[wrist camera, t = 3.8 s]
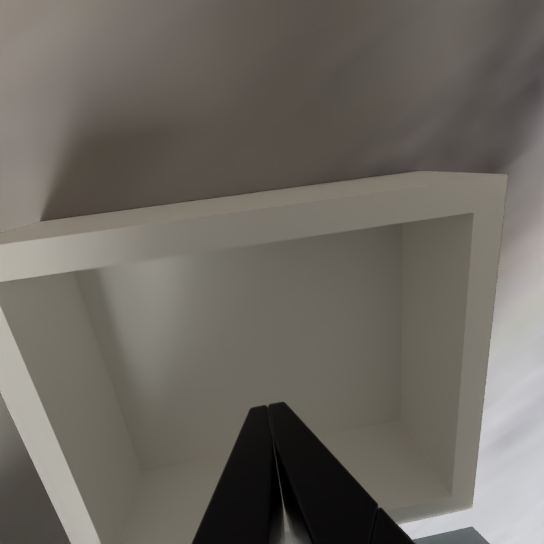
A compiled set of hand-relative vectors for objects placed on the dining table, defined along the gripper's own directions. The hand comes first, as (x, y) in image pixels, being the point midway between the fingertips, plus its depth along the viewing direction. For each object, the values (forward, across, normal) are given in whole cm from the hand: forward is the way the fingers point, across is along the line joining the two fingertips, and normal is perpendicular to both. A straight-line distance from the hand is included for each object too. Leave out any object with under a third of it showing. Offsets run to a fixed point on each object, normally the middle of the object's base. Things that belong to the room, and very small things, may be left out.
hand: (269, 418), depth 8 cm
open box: (+8, 0, +2) cm, 8 cm away
